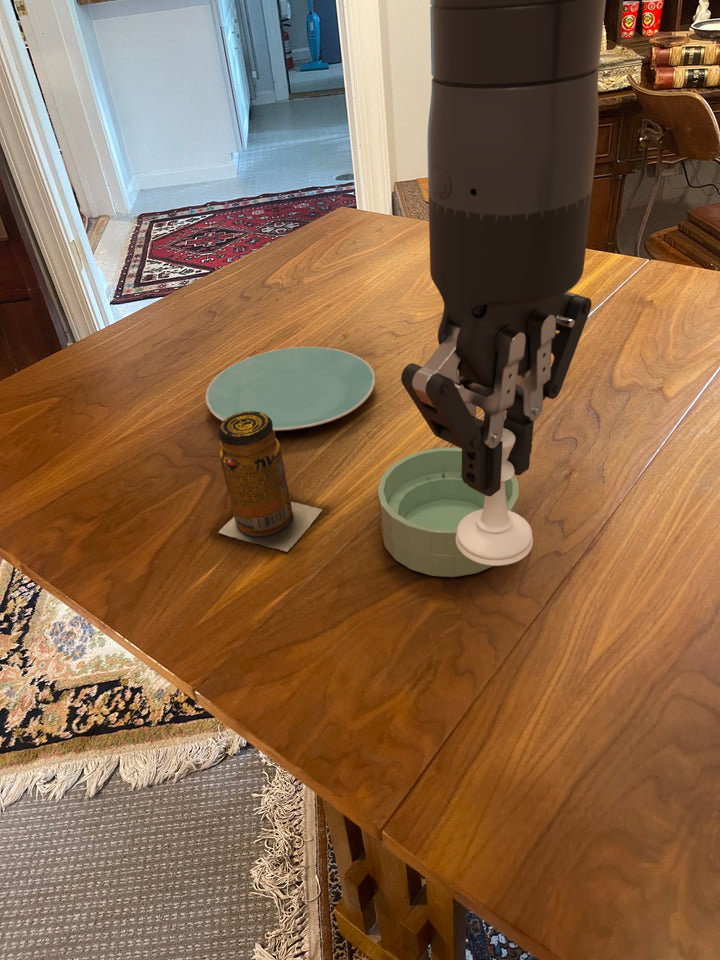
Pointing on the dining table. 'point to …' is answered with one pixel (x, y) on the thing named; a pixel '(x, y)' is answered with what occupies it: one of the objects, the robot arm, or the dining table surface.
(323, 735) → the dining table surface
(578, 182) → the robot arm
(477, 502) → the bowl
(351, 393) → the plate
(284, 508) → the condiment
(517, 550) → the chess piece
